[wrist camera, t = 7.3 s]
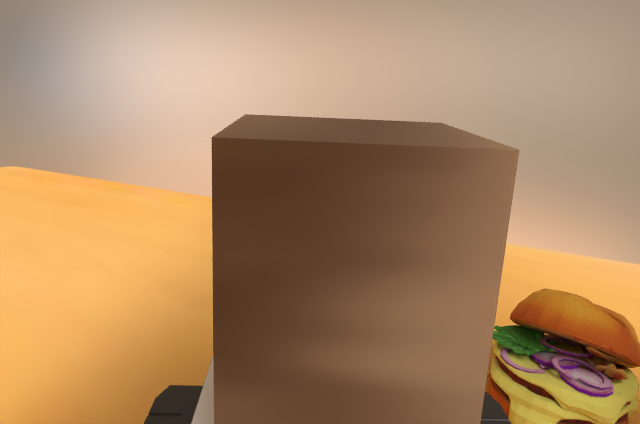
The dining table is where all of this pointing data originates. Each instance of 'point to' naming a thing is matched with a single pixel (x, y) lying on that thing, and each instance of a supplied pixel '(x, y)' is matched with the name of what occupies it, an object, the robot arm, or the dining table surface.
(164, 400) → the robot arm
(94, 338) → the dining table surface
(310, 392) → the walnut post
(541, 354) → the cheeseburger
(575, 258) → the dining table surface
